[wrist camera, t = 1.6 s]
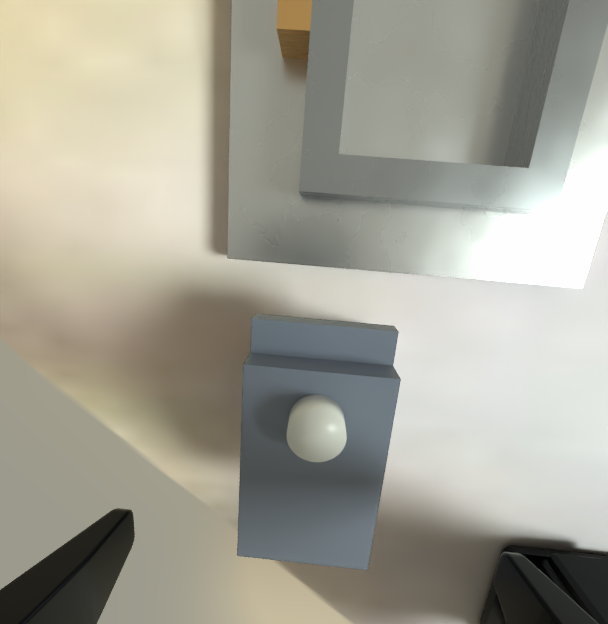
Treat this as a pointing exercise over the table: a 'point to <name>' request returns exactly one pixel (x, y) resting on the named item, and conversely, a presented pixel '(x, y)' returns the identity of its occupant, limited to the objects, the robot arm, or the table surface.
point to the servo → (314, 438)
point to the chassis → (420, 136)
